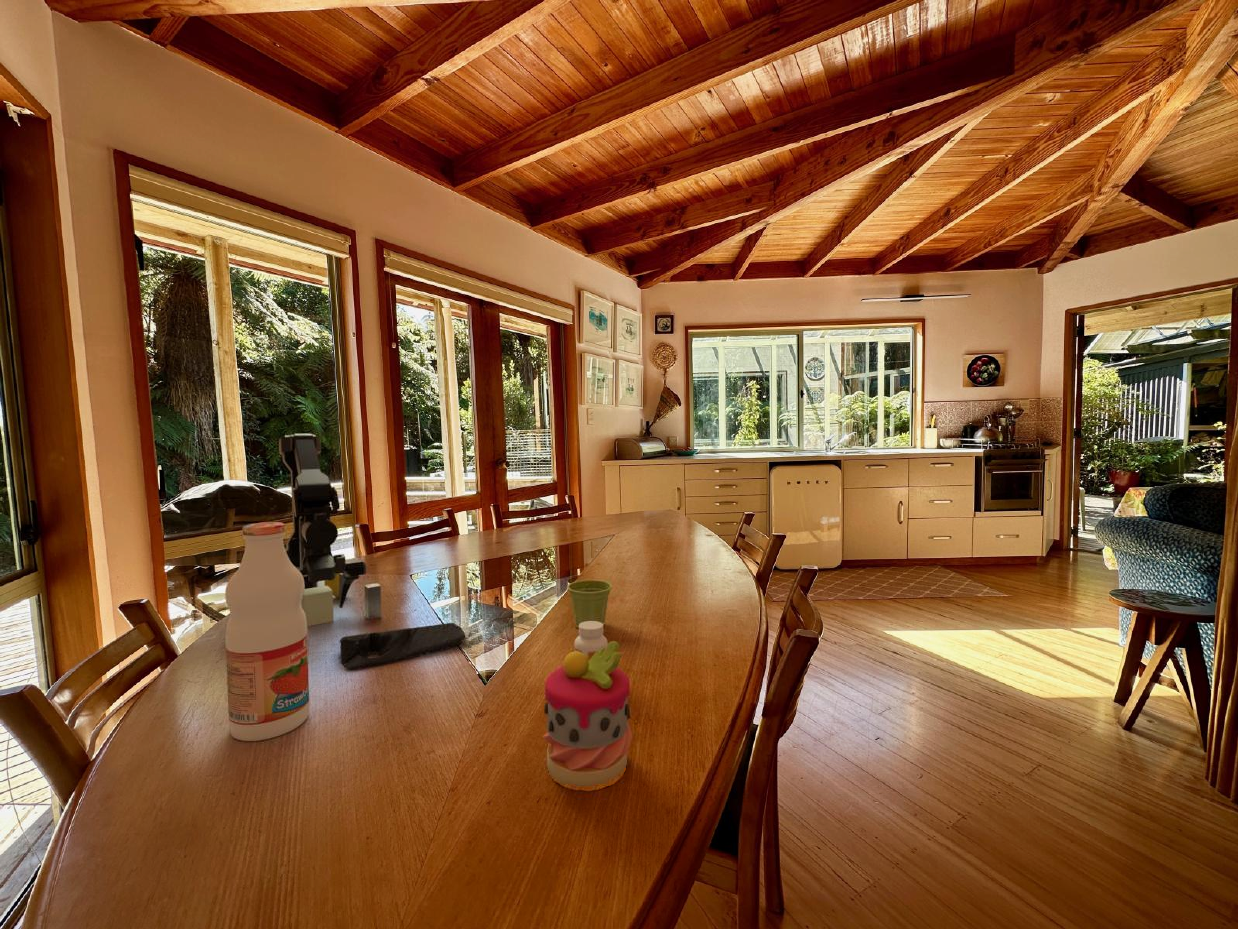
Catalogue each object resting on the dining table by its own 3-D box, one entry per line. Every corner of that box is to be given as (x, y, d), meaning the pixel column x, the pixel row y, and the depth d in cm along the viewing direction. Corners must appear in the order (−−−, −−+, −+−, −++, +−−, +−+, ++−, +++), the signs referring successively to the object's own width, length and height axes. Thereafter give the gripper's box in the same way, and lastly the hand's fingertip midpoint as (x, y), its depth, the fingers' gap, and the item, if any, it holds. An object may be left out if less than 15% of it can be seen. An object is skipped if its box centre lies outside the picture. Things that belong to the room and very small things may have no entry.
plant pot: (559, 630, 110) (559, 589, 110) (579, 616, 119) (579, 577, 118) (600, 637, 107) (601, 594, 106) (618, 622, 115) (618, 582, 115)
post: (365, 616, 118) (364, 585, 117) (377, 614, 120) (377, 583, 119) (368, 619, 116) (367, 588, 115) (381, 617, 118) (380, 585, 117)
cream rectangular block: (301, 619, 116) (300, 589, 115) (328, 614, 119) (327, 585, 119) (305, 626, 112) (304, 595, 111) (333, 621, 115) (332, 591, 115)
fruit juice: (247, 710, 78) (240, 520, 76) (318, 703, 80) (313, 518, 79) (215, 747, 69) (206, 532, 67) (296, 738, 71) (289, 529, 69)
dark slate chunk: (471, 653, 100) (470, 628, 100) (338, 676, 90) (337, 649, 90) (457, 626, 114) (457, 604, 113) (341, 644, 104) (340, 620, 104)
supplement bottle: (612, 678, 89) (612, 621, 88) (600, 693, 84) (600, 632, 83) (582, 673, 91) (582, 617, 90) (568, 688, 85) (568, 628, 85)
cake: (558, 804, 59) (558, 671, 58) (534, 751, 69) (534, 636, 68) (644, 779, 63) (645, 655, 62) (610, 733, 73) (610, 625, 72)
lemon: (355, 594, 134) (354, 563, 133) (341, 601, 128) (340, 568, 128) (334, 593, 134) (333, 562, 134) (319, 600, 129) (318, 567, 128)
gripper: (267, 552, 102) (270, 633, 103) (372, 540, 114) (373, 612, 115) (261, 543, 111) (263, 617, 112) (358, 533, 123) (360, 600, 123)
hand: (317, 611), depth 115 cm, fingers open, 9 cm apart
